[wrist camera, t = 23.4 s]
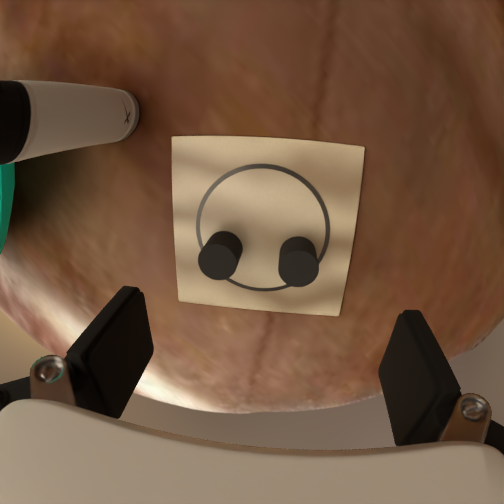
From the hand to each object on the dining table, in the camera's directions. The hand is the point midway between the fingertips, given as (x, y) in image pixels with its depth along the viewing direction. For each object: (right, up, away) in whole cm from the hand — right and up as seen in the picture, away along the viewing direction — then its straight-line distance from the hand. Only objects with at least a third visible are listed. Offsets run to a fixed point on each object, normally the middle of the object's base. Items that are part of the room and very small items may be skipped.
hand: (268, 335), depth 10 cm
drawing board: (+1, +5, +23) cm, 23 cm away
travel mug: (-16, +19, +19) cm, 31 cm away
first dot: (-4, +3, +23) cm, 24 cm away
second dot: (+4, +3, +23) cm, 23 cm away
